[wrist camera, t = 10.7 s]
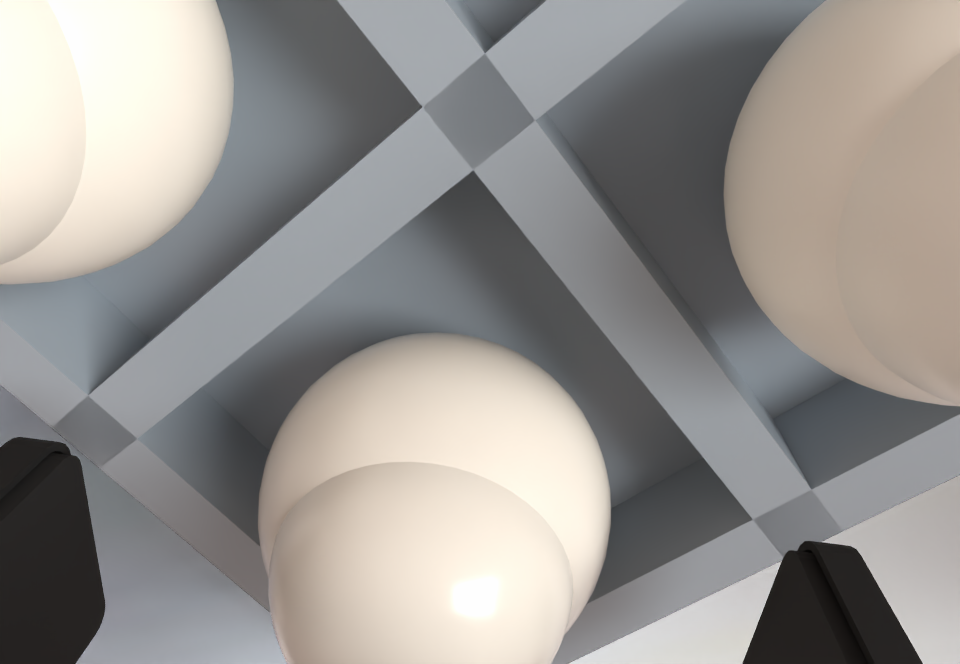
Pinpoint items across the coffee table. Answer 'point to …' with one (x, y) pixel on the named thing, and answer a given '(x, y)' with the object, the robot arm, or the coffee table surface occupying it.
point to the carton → (498, 248)
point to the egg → (432, 509)
